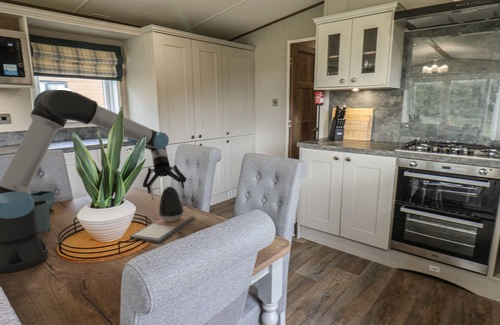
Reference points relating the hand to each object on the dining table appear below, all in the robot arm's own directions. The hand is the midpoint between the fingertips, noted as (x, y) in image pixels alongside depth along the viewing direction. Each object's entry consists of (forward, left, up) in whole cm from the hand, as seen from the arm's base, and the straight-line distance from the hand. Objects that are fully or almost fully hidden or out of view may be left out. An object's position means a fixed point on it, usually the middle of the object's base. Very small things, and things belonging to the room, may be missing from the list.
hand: (167, 196), depth 143 cm
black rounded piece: (-7, -6, -8) cm, 13 cm away
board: (-13, -7, -9) cm, 17 cm away
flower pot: (-12, +69, -10) cm, 71 cm away
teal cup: (-31, +45, -10) cm, 56 cm away
